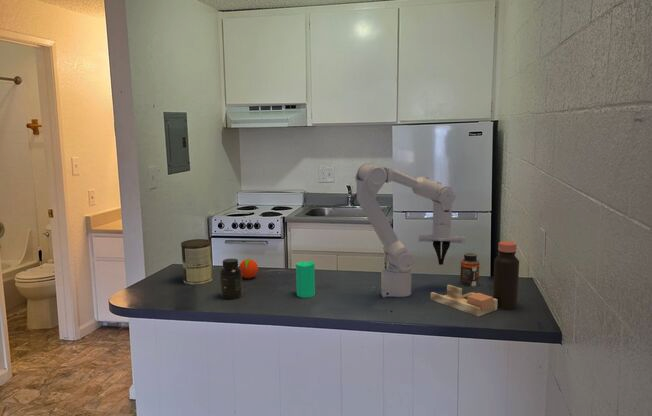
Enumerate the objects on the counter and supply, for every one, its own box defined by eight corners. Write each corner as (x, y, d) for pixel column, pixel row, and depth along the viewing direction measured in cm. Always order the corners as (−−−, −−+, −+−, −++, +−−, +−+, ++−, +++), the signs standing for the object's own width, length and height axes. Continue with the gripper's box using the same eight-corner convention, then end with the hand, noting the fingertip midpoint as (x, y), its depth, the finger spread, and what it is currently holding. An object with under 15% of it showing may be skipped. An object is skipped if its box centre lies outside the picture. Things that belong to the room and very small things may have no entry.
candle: (318, 292, 163) (317, 257, 161) (309, 298, 157) (309, 261, 156) (301, 290, 165) (301, 255, 163) (293, 296, 160) (292, 260, 158)
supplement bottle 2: (479, 290, 163) (480, 256, 161) (460, 289, 164) (461, 256, 163) (477, 284, 169) (478, 252, 167) (459, 283, 170) (460, 251, 168)
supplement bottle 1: (216, 296, 160) (214, 261, 158) (232, 291, 166) (231, 256, 164) (231, 301, 156) (229, 264, 154) (246, 295, 161) (245, 259, 160)
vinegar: (521, 310, 145) (525, 243, 142) (506, 315, 141) (510, 247, 138) (502, 303, 150) (505, 239, 147) (487, 308, 147) (490, 242, 144)
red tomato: (256, 281, 176) (255, 262, 174) (237, 281, 176) (236, 262, 175) (259, 275, 184) (259, 256, 182) (241, 275, 184) (240, 256, 182)
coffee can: (177, 281, 177) (174, 243, 175) (199, 274, 185) (197, 237, 183) (196, 286, 171) (193, 246, 169) (218, 279, 179) (216, 241, 177)
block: (467, 309, 143) (467, 296, 142) (477, 305, 146) (478, 292, 145) (481, 314, 139) (482, 300, 138) (492, 310, 142) (493, 297, 141)
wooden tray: (430, 303, 152) (430, 290, 151) (463, 292, 161) (463, 280, 160) (478, 320, 138) (478, 306, 137) (511, 307, 147) (511, 294, 146)
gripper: (418, 224, 156) (417, 266, 159) (465, 225, 153) (464, 268, 155) (419, 220, 163) (418, 260, 165) (465, 221, 160) (463, 262, 162)
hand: (440, 263), depth 161 cm, fingers closed
